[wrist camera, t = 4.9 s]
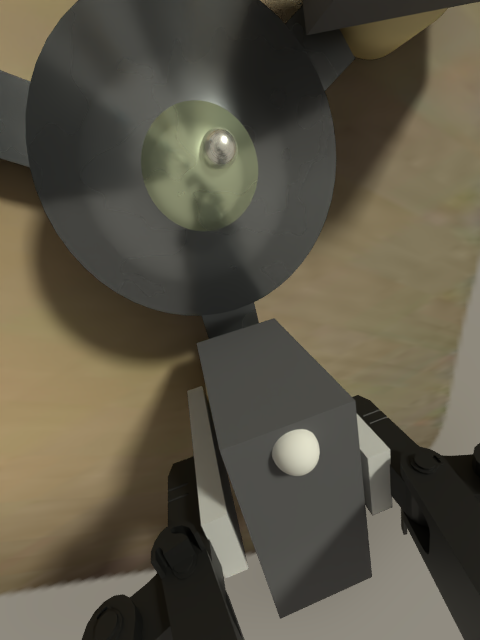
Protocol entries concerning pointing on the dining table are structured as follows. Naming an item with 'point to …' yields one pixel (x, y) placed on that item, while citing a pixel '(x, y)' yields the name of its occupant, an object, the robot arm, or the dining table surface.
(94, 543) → the dining table surface
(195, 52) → the level base
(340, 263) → the dining table surface
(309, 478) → the knob
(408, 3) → the knob
